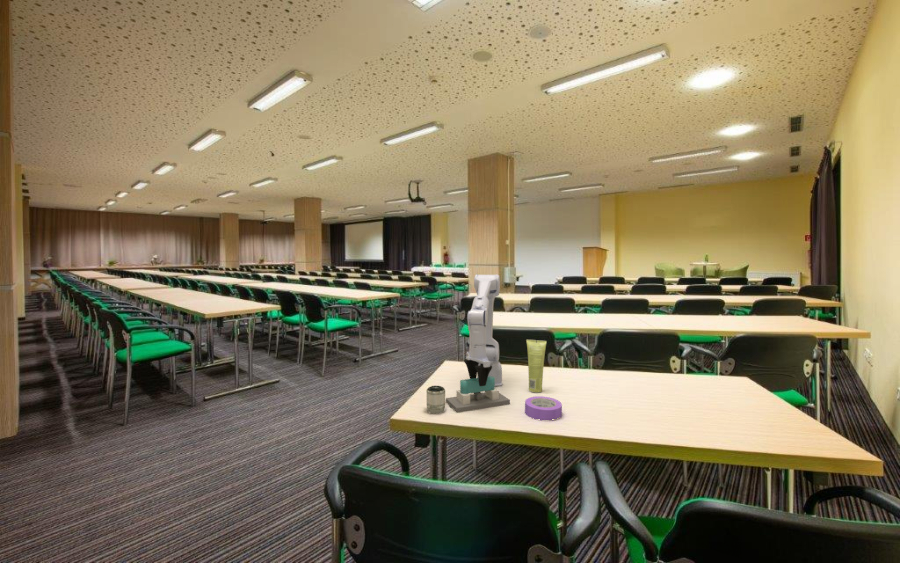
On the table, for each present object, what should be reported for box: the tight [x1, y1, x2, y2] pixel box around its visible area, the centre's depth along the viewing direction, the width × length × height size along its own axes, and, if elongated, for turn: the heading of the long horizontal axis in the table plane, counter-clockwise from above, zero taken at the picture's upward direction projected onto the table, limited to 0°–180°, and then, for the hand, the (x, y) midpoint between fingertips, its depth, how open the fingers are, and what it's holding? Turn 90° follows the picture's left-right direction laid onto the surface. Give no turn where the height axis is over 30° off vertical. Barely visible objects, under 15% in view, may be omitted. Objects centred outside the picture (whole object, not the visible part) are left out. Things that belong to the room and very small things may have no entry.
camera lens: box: [426, 385, 446, 415], centre depth 130 cm, size 6×6×8 cm
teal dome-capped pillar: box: [459, 376, 496, 394], centre depth 136 cm, size 13×3×4 cm, turn 112°
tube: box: [525, 339, 547, 393], centre depth 148 cm, size 6×5×20 cm
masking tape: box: [524, 395, 563, 421], centre depth 128 cm, size 12×12×4 cm
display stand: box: [445, 388, 511, 414], centre depth 136 cm, size 20×10×4 cm, turn 112°
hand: (477, 382), depth 136 cm, fingers open, 7 cm apart
